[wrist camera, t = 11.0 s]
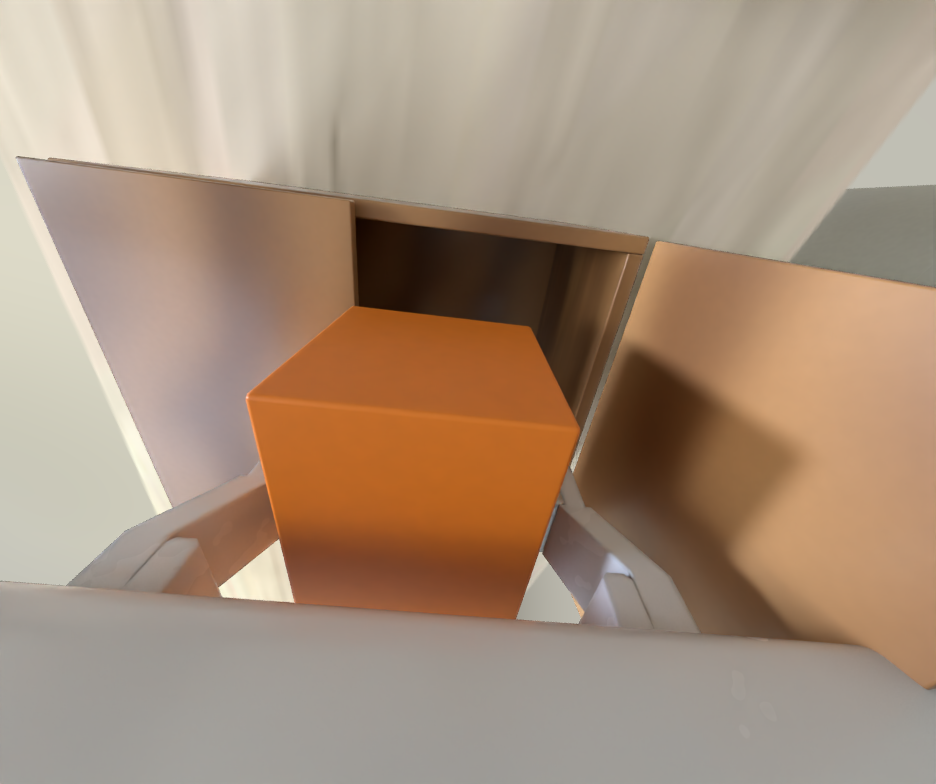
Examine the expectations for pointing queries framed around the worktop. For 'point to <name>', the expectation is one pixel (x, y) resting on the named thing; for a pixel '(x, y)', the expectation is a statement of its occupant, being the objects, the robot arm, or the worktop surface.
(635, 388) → the carton flap
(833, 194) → the worktop surface
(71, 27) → the worktop surface
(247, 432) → the carton
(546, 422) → the orange block
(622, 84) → the worktop surface
